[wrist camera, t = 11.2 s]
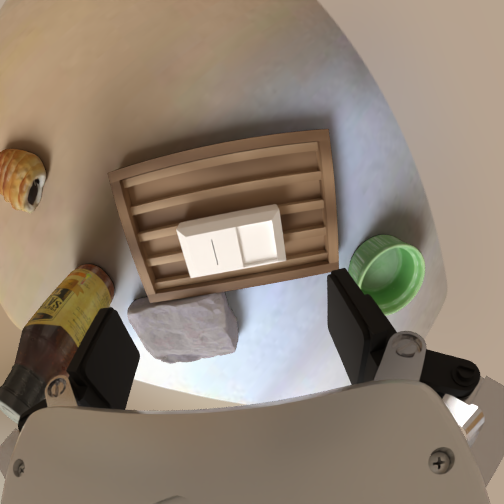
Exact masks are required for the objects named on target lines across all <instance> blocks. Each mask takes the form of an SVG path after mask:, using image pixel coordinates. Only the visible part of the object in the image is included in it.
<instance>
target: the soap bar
mask: <svg viewBox="0 0 504 504" xmlns="http://www.w3.org/2000/svg"><path fill="white" fill-rule="evenodd" d="M176 231H177V234H178V238H179V241H180V244H181V248H182V251H183V255H184V258H185V261H186V265H187V268H188V271H189V274H190V277H191V278H195V277H201V276H206V275H212V274H217V273H223V272H228V271H234V270H239V269H245V268H250V267H256V266H261V265H266V264H272V263H277V262H282V261H286V254H285V246H284V239H283V232H282V225H281V218H280V211H279V208H278V206H277V205H276V204H273V205H267V206H262V207H256V208H251V209H245V210H240V211H235V212H230V213H225V214H220V215H215V216H210V217H205V218H200V219H195V220H190V221H186V222H181V223H179V225H178V227H177V229H176Z"/></svg>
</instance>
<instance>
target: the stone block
mask: <svg viewBox="0 0 504 504" xmlns="http://www.w3.org/2000/svg"><path fill="white" fill-rule="evenodd" d="M127 315H128V319H129V322H130V323H131V324H132V326H133V329H134V330H135V331H136V333H137V335H138V336H139V338H140V340H141V341H142V343H143V345H144V347H145V348H146V350H147V351H148V352H149V353H150V354H151V355H152V356H153V357H154V358H155V359H160V360H161V361H163V362H167V363H170V364H171V363H176V362H192V361H196V360H199V359H201V358H210V357H214V356H217V355H226V354H230V353H233V352H235V350H236V347H237V342H238V328H237V324H238V322H237V318H236V317H235V315H234V314H233V312H232V309H231V308H230V307H229V305H228V302H227V297H226V295H225V292H219V293H213V294H207V295H200V296H194V297H187V298H181V299H174V300H167V301H160V302H153V303H150V301H149V299H148V297H144V298H140V299H137V300H135V301H134V302H133V303H131V305H130V306H129V308H128V313H127Z"/></svg>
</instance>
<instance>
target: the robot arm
mask: <svg viewBox="0 0 504 504" xmlns="http://www.w3.org/2000/svg"><path fill="white" fill-rule="evenodd" d="M327 291H328V329H329V332H330V334H331V337H332V339H333V341H334V344H335V346H336V348H337V351H338V353H339V355H340V358H341V360H342V362H343V365H344V367H345V370H346V372H347V374H348V377H349V379H350V382H351V384H352V385H350V386H345V387H341V388H336V389H332V390H328V391H323V392H319V393H314V394H310V395H305V396H299V397H294V398H289V399H283V400H278V401H272V402H265V403H258V404H251V405H243V406H235V407H226V408H214V409H200V410H199V409H198V410H176V411H175V410H174V411H145V410H144V411H143V410H125V408H126V404H127V401H128V397H129V393H130V390H131V386H132V383H133V379H134V376H135V372H136V369H137V366H138V362H139V359H140V354H139V351H138V349H137V348H136V346H135V344H134V342H133V340H132V339H131V337H130V335H129V333H128V331H127V329H126V328H125V326H124V324H123V322H122V320H121V318H120V316H119V314H118V312H117V311H116V310H114V309H113V308H112V307H108V308H101V309H100V310H99V311H98V313H97V314H96V316H95V318H94V320H93V321H92V323H91V325H90V327H89V328H88V330H87V332H86V334H85V336H84V337H83V339H82V341H81V343H80V345H79V347H78V349H77V350H76V352H75V354H74V356H73V358H72V360H71V362H70V364H69V366H68V368H67V370H66V371H67V373H68V374H69V377H68V378H67V377H66V376H63V375H59V376H56V377H54V378H53V379H51V380H50V381H49V382H48V384H47V386H46V388H45V397H46V398H45V399H44V400H42V401H41V402H39V403H38V404H36V405H34V406H33V407H31V408H30V409H28V410H27V411H25V412H24V413H23V414H21V416H20V418H19V421H18V429H19V430H17V429H15V430H14V431H13V432H12V433H11V434H10V435H9V436H8V437H7V439H6V440H5V441H4V442H3V443H2V444H1V445H0V470H1V472H2V474H3V476H4V478H5V484H4V488H3V494H2V500H1V504H490V501H489V497H488V494H487V491H486V486H487V485H488V483H489V481H490V480H491V478H492V476H493V474H494V473H495V471H496V469H497V467H498V466H499V464H500V462H501V460H502V458H503V456H504V386H503V385H501V384H500V383H498V382H496V381H495V380H493V379H491V378H489V377H488V376H486V377H485V378H482V377H481V376H480V372H479V369H478V367H477V366H476V365H475V364H474V363H473V362H471V361H468V360H465V359H461V358H457V357H454V356H450V355H445V354H442V353H438V352H434V351H431V350H427V349H426V343H425V340H424V339H423V338H422V337H421V336H420V335H418V334H417V333H414V332H411V331H401V332H398V333H397V332H396V330H395V329H394V328H393V326H392V325H391V323H390V322H389V320H388V319H387V317H386V316H385V315H384V313H383V312H382V310H381V309H380V308H379V306H378V305H377V303H376V302H375V301H374V299H373V298H372V297H371V296H370V295H369V294H365V295H364V293H363V292H362V290H361V289H360V288H359V286H358V285H357V284H356V282H355V281H354V279H353V278H352V277H351V275H350V274H349V273H348V271H347V270H346V269H345V268H342V269H337V270H332V271H331V274H330V275H328V276H327ZM456 420H457V421H456ZM459 425H460V426H461V427H462V428H463V429H464V430H465V431H466V434H467V440H466V439H465V436H464V434H463V433H462V431H461V429H460V427H459Z"/></svg>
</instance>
